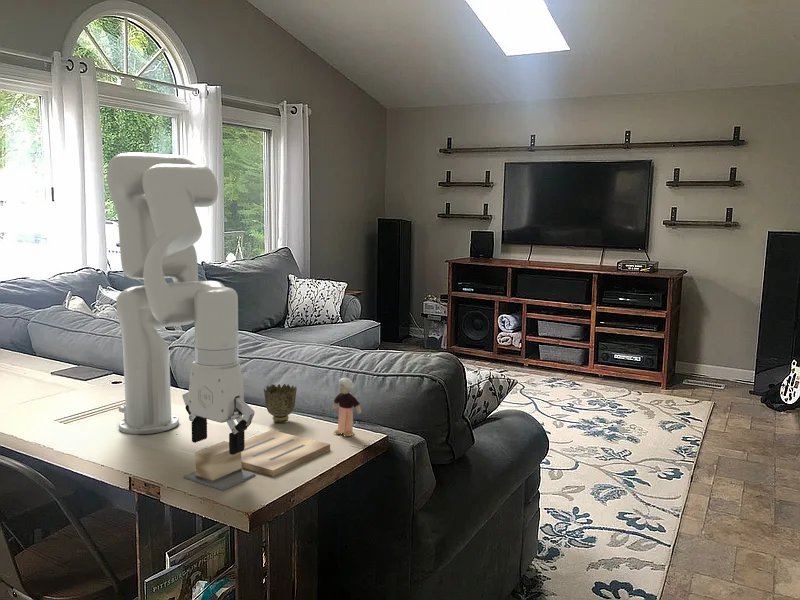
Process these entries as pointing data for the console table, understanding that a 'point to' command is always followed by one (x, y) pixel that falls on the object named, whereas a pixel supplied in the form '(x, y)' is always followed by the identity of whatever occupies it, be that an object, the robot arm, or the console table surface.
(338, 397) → the grandmother figurine
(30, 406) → the console table surface
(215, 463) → the block
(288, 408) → the cup
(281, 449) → the plank
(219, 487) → the mat
